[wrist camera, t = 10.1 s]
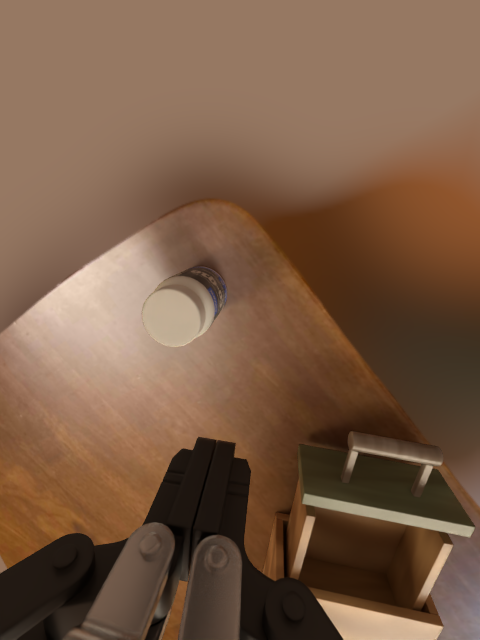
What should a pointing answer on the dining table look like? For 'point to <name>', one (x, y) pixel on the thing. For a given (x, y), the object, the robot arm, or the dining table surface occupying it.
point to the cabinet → (358, 604)
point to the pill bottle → (184, 306)
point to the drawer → (372, 521)
